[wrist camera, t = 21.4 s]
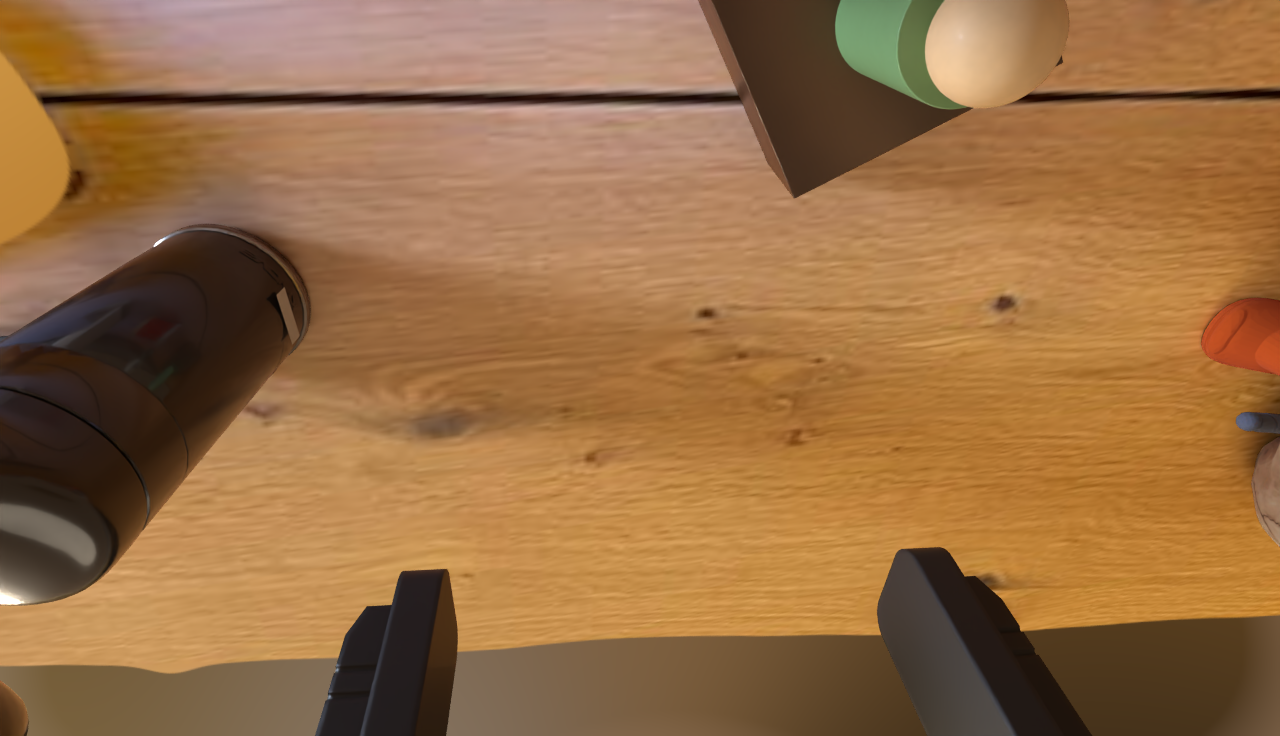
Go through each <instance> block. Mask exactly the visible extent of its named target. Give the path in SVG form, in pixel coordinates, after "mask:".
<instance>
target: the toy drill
mask: <svg viewBox="0 0 1280 736" xmlns="http://www.w3.org/2000/svg"><path fill="white" fill-rule="evenodd" d="M1201 345H1202V348H1203V351H1204V352H1205V353H1206V355H1207V356H1208V357H1210V358H1211V359H1213V360H1215V361H1217V362H1219V363H1222V364H1226V365H1230V366H1235V367H1240V368H1245V369H1249V370H1255V371H1260V372H1265V373H1271V374H1277V375H1279V376H1280V301H1279V300H1274V299H1268V298H1248V299H1243V300H1239V301H1236V302H1234V303H1232V304H1230V305H1228V306H1227V307H1225V308H1224V309H1223V310H1221V311H1220V312H1219V313H1218V314H1217V315H1216V316H1215V317H1214V318H1213V320H1212V321H1211V322H1210V324H1209V325H1208V327H1207V328H1206V330H1205V332H1204V334H1203V337H1202V342H1201ZM1236 424H1237V426H1238V427H1239V428H1241V429H1243V430H1245V431H1255V432H1269V433H1278V434H1280V414H1270V413H1252V412H1245V413H1241V414H1240V415H1239V416H1237V418H1236Z"/></svg>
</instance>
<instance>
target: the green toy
mask: <svg viewBox="0 0 1280 736" xmlns="http://www.w3.org/2000/svg"><path fill="white" fill-rule="evenodd" d="M1068 32H1069V13H1068V9H1067V5H1066V2H1065V0H841V1H840V4H839V7H838V10H837V15H836V22H835V33H836V40H837V44H838V48H839V50H840V52H841V55H842V56H843V58H844V60H845V61H846V62H847V63H848V64H849V66H851V67H852V68H853V69H854V70H855V71H857V72H859V73H860V74H863V75H865V76H867V77H869V78H871V79H873V80H875V81H878V82H880V83H882V84H884V85H886V86H888V87H891V88H893V89H895V90H897V91H899V92H901V93H903V94H906V95H908V96H910V97H912V98H914V99H916V100H919V101H921V102H923V103H925V104H927V105H930V106H932V107H936V108H940V109H960V108H966V107H972V108H993V107H999V106H1002V105H1005V104H1009V103H1011V102H1014V101H1016V100H1018V99H1020V98H1022V97H1024V96H1025V95H1027V94H1028V93H1030V92H1031V91H1033V90H1034V89H1035V88H1037V87H1038V86H1039V85H1040V84H1041V83H1042V82H1043V81H1044V80H1045V79H1046V78H1047V77H1048V76H1049V74H1050V73H1051V72H1052V71H1053V69H1054V68H1055V66H1056V65H1057V63H1058V61H1059V59H1060V57H1061V55H1062V53H1063V51H1064V48H1065V46H1066V42H1067V38H1068Z"/></svg>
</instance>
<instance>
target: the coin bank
mask: <svg viewBox="0 0 1280 736" xmlns="http://www.w3.org/2000/svg"><path fill="white" fill-rule="evenodd" d="M1251 485H1252V490H1253V497H1254V504H1255V509H1256V514H1257V517H1258V519H1259V522H1260V524H1261V525H1262V527H1263V529H1264V530H1265V531H1266V532H1267V534H1268V535H1269V536H1270V537H1271V538H1272V539H1273V540H1274V541H1275V543H1276V544H1277V545H1278V546H1279V547H1280V436H1279V437H1278V438H1276V439H1274V440H1273V441H1271V442H1270V443H1268V444H1267V445H1265V446H1263V447H1262V449H1261V451H1260V452H1259V454H1258V456H1257V459H1256V463H1255V469H1254V473H1253V477H1252V483H1251Z"/></svg>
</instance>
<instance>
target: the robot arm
mask: <svg viewBox="0 0 1280 736" xmlns="http://www.w3.org/2000/svg"><path fill="white" fill-rule="evenodd" d="M309 323H310V302H309V298H308V294H307V291H306V289H305V287H304V284H303V282H302V280H301V279H300V277H299V275H298V274H297V272H296V271H295V269H294V268H293V267H292V266H291V264H290V263H289V262H288V261H287V260H286V259H285V258H284V257H283V256H282V255H281V254H280V253H279V252H278V251H276V250H275V249H274V248H272V247H271V246H270V245H268V244H267V243H265V242H264V241H262V240H260V239H259V238H257V237H255V236H253V235H251V234H249V233H246V232H244V231H241V230H238V229H235V228H232V227H227V226H223V225H215V224H198V225H192V226H187V227H184V228H181V229H179V230H176V231H174V232H172V233H171V234H169V235H167V236H166V237H164V238H163V239H161V240H160V241H159V242H157V243H156V244H155V245H154V246H153V247H152V248H150V249H149V250H147V251H146V252H144V253H142V254H141V255H139V256H137V257H136V258H134V259H132V260H130V261H129V262H127V263H125V264H124V265H122V266H121V267H119V268H117V269H116V270H114V271H113V272H111V273H109V274H108V275H106V276H105V277H103V278H101V279H100V280H98V281H97V282H95V283H93V284H92V285H90V286H88V287H87V288H85V289H84V290H82V291H80V292H79V293H77V294H76V295H74V296H72V297H71V298H69V299H68V300H66V301H64V302H63V303H61V304H60V305H58V306H56V307H55V308H53V309H51V310H50V311H48V312H47V313H45V314H43V315H42V316H40V317H39V318H37V319H35V320H34V321H32V322H31V323H29V324H27V325H26V326H24V327H23V328H21V329H19V330H18V331H16V332H14V333H13V334H11V335H10V336H2V337H0V605H34V604H41V603H47V602H53V601H57V600H61V599H64V598H67V597H69V596H72V595H75V594H77V593H79V592H81V591H83V590H85V589H87V588H88V587H89V586H91V585H92V584H94V583H95V582H97V581H98V580H100V579H101V578H102V577H103V576H104V575H105V574H107V573H108V572H109V570H110V569H111V568H112V567H113V566H114V565H115V564H116V563H117V562H118V561H119V559H120V558H121V557H122V556H123V555H124V553H125V552H126V551H127V550H128V549H129V547H130V546H131V545H132V544H133V543H134V541H135V540H136V539H137V538H138V536H139V535H140V533H141V532H142V531H143V530H144V528H145V527H146V526H147V525H148V524H149V522H150V521H151V520H152V519H153V518H154V516H155V515H156V514H157V513H158V512H159V510H160V509H161V508H162V507H163V505H164V504H165V503H166V502H167V501H168V499H169V498H170V497H171V496H172V495H173V493H174V492H175V491H176V490H177V488H178V487H179V486H180V485H181V483H182V482H183V481H184V480H185V478H186V477H187V476H188V475H189V474H190V472H191V471H192V470H193V469H194V468H195V466H196V465H197V464H198V463H199V462H200V460H201V459H202V458H203V457H204V455H205V454H206V453H207V452H208V451H209V449H210V448H211V447H212V446H213V445H214V443H215V442H216V441H217V440H218V439H219V437H220V436H221V435H222V434H223V433H224V431H225V430H226V429H227V428H228V427H229V425H230V424H231V423H232V422H233V421H234V419H235V418H236V417H237V416H238V415H239V413H240V412H241V411H242V410H243V409H244V407H245V406H246V405H247V404H248V403H249V401H250V400H251V399H252V398H253V397H254V395H255V394H256V393H257V392H258V390H259V389H260V388H261V387H262V386H263V384H264V383H265V382H266V381H267V380H268V378H269V377H270V376H271V375H272V374H273V373H274V372H275V370H276V369H277V368H278V367H279V366H280V364H281V363H282V362H283V361H284V359H285V358H286V357H287V356H288V355H290V354H291V353H292V352H293V351H294V350H295V349H296V348H297V346H298V345H299V344H300V343H301V341H302V340H303V338H304V337H305V335H306V333H307V330H308V327H309ZM877 616H878V624H879V628H880V632H881V635H882V637H883V640H884V642H885V644H886V646H887V648H888V651H889V653H890V655H891V657H892V659H893V661H894V664H895V666H896V668H897V670H898V672H899V674H900V677H901V679H902V681H903V683H904V686H905V688H906V690H907V692H908V694H909V697H910V699H911V701H912V703H913V705H914V707H915V710H916V712H917V714H918V716H919V718H920V721H921V723H922V725H923V727H924V729H925V731H926V734H927V736H1092V735H1091V733H1090V732H1089V730H1088V729H1087V727H1086V726H1085V724H1084V723H1083V721H1082V720H1081V718H1080V717H1079V715H1078V714H1077V712H1076V711H1075V709H1074V708H1073V706H1072V705H1071V703H1070V702H1069V700H1068V699H1067V697H1066V695H1065V694H1064V692H1063V691H1062V690H1061V688H1060V687H1059V685H1058V683H1057V682H1056V680H1055V679H1054V678H1053V676H1052V674H1051V673H1050V671H1049V670H1048V668H1047V667H1046V665H1045V664H1044V662H1043V661H1042V659H1041V658H1040V656H1039V655H1036V654H1035V652H1034V647H1033V646H1032V644H1031V643H1030V641H1029V640H1028V638H1027V637H1026V635H1025V634H1024V632H1021V631H1020V626H1019V624H1018V623H1017V621H1016V620H1015V618H1014V617H1013V615H1012V614H1011V612H1010V611H1009V609H1008V608H1007V606H1006V605H1005V603H1004V602H1003V600H1002V599H1001V598H1000V597H999V596H998V595H996V594H995V593H994V592H993V591H992V590H991V589H990V588H988V587H987V586H986V585H985V584H984V583H983V582H982V581H980V580H979V579H978V578H977V577H976V576H967V577H964V575H963V573H962V572H961V570H960V569H959V567H958V565H957V564H956V562H955V561H954V559H953V557H952V556H951V555H950V553H949V552H948V551H947V550H945V549H944V548H941V547H934V548H913V549H901V550H899V551H898V552H897V553H896V555H895V558H894V561H893V563H892V566H891V569H890V571H889V574H888V577H887V580H886V582H885V585H884V588H883V590H882V593H881V596H880V599H879V602H878V608H877ZM457 644H458V633H457V621H456V615H455V608H454V602H453V596H452V589H451V583H450V577H449V572H448V570H447V569H436V570H415V571H402V572H401V574H400V576H399V579H398V582H397V586H396V590H395V594H394V598H393V602H392V605H384V606H367V607H366V608H365V610H364V611H363V612H362V614H361V615H360V616H359V618H358V619H357V620H356V622H355V623H354V624H353V626H352V627H351V628H350V630H349V631H348V632H347V634H346V635H345V638H344V641H343V645H342V648H341V651H340V655H339V658H338V661H337V665H336V672H335V673H334V675H333V678H332V681H331V685H330V688H329V691H328V699H327V700H326V701H325V705H324V708H323V711H322V715H321V718H320V721H319V725H318V728H317V731H316V735H315V736H446V732H447V725H448V717H449V710H450V703H451V696H452V689H453V681H454V673H455V667H456V659H457ZM28 723H29V721H28V714H27V710H26V706H25V704H24V702H23V700H22V699H21V698H20V697H19V696H18V695H17V694H16V693H15V692H14V691H13V690H11V688H9V687H8V686H7V685H5V684H4V683H3V682H2V681H0V736H27V732H28Z"/></svg>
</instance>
